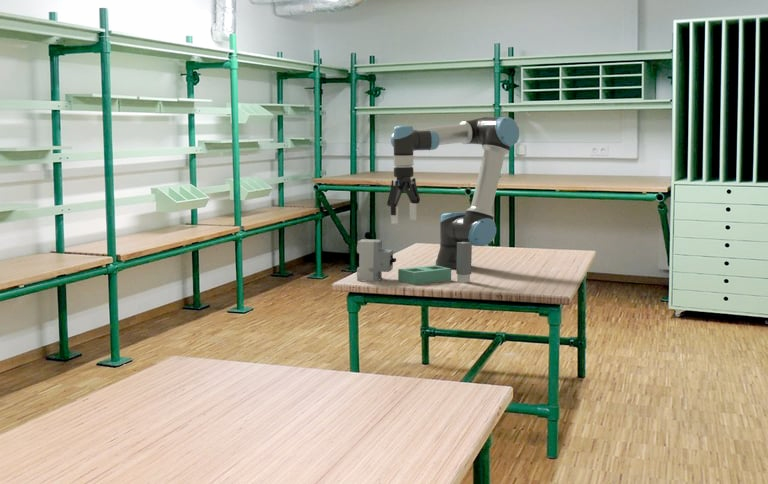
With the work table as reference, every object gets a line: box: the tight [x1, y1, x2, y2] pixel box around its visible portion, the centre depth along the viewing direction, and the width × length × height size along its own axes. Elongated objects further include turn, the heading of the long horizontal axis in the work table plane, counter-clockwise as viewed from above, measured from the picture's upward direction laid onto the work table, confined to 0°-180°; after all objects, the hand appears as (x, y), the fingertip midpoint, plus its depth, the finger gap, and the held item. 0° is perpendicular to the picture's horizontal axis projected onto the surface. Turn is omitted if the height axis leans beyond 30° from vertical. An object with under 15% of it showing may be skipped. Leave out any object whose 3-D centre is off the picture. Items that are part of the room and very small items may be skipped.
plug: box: [455, 242, 473, 283], centre depth 327 cm, size 4×4×15 cm
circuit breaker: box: [356, 238, 397, 282], centre depth 331 cm, size 8×14×15 cm, turn 78°
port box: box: [397, 264, 452, 286], centre depth 330 cm, size 18×10×4 cm, turn 125°
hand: (404, 221), depth 331 cm, fingers open, 13 cm apart
